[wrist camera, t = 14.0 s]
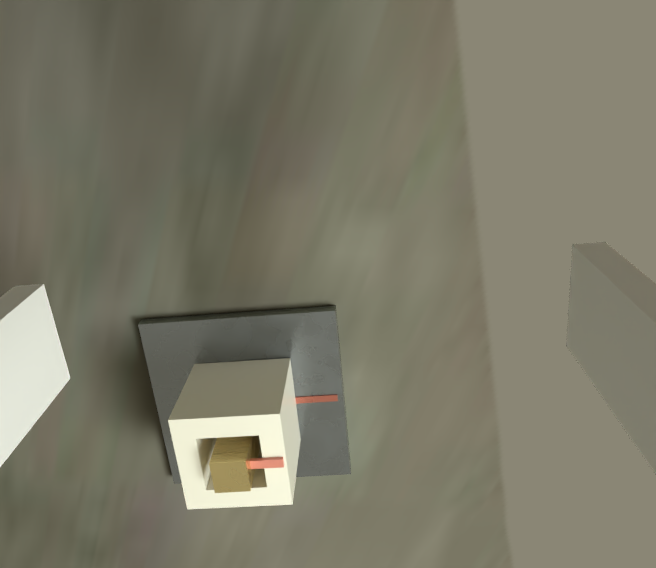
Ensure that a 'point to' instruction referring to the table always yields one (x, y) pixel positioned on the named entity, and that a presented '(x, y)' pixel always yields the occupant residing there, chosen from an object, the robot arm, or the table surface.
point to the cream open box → (238, 429)
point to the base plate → (245, 345)
